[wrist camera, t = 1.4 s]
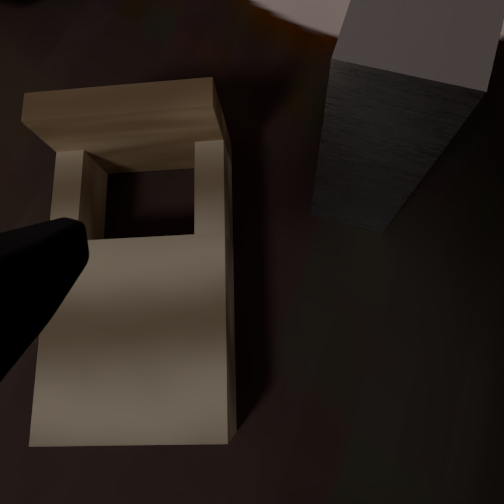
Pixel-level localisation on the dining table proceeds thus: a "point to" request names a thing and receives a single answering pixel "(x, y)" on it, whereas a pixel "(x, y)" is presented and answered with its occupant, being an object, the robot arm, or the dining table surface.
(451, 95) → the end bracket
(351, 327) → the dining table surface
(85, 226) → the robot arm
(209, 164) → the block
